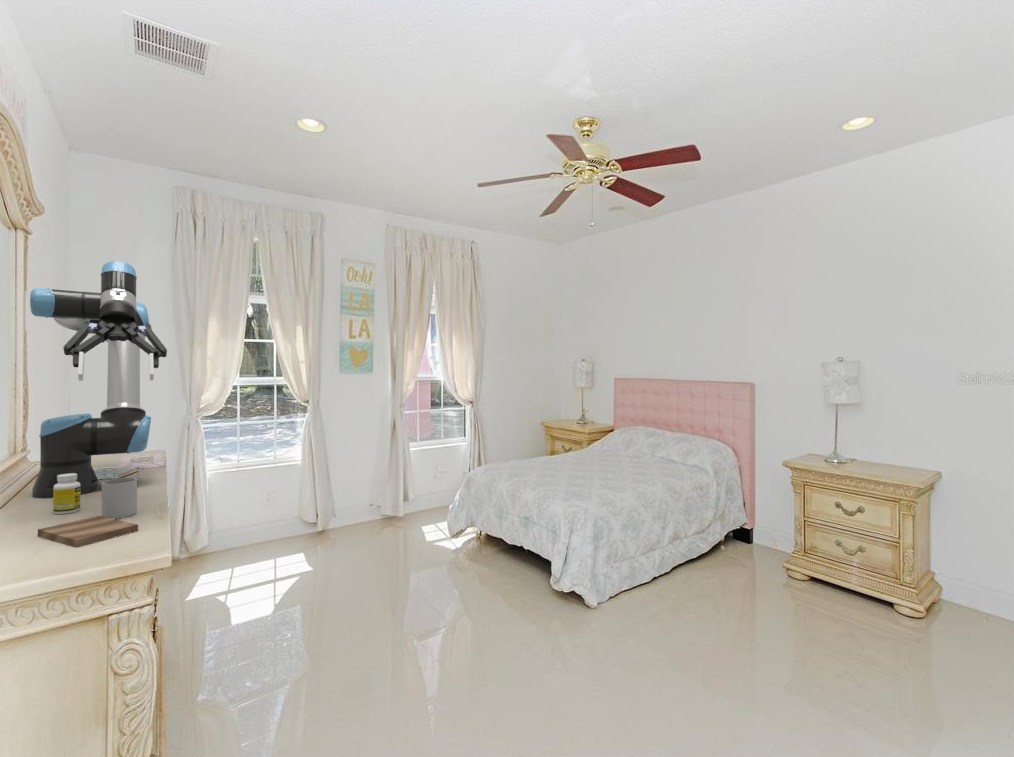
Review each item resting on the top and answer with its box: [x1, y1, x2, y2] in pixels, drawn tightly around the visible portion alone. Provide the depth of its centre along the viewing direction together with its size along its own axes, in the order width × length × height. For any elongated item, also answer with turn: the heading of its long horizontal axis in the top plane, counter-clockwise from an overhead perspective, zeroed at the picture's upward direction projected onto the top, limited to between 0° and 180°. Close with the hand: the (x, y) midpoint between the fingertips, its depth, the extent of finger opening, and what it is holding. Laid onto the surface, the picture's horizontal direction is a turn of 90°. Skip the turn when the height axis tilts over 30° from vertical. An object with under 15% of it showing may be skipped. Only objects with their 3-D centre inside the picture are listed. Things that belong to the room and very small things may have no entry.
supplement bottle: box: [52, 473, 82, 515], centre depth 132 cm, size 5×5×10 cm
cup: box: [101, 477, 138, 519], centre depth 130 cm, size 7×10×9 cm
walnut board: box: [37, 515, 139, 548], centre depth 115 cm, size 16×12×2 cm
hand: (117, 377), depth 121 cm, fingers open, 13 cm apart
